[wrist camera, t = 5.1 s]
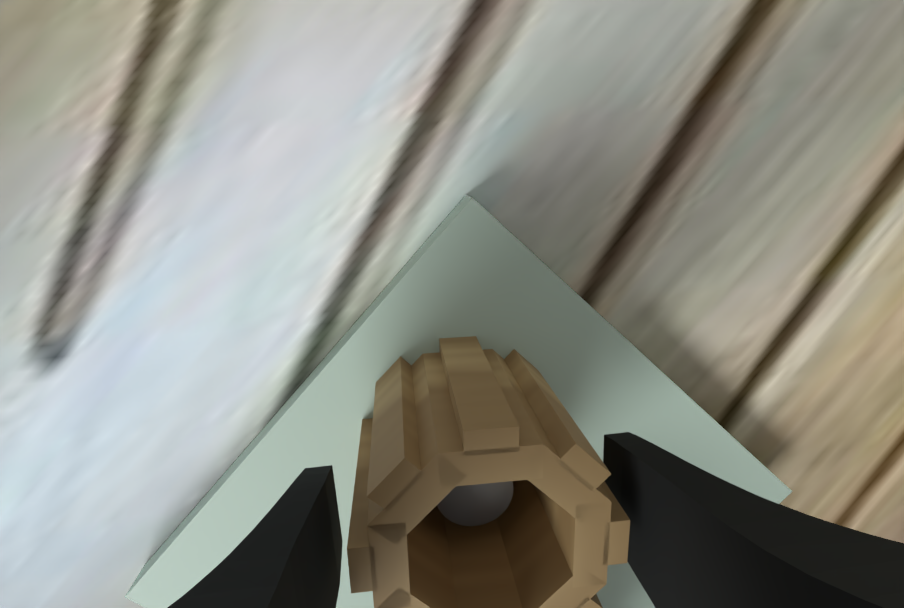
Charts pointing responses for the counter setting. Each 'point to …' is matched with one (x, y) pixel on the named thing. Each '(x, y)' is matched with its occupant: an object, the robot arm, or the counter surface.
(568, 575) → the oak cog
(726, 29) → the counter surface
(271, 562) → the robot arm
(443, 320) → the board
